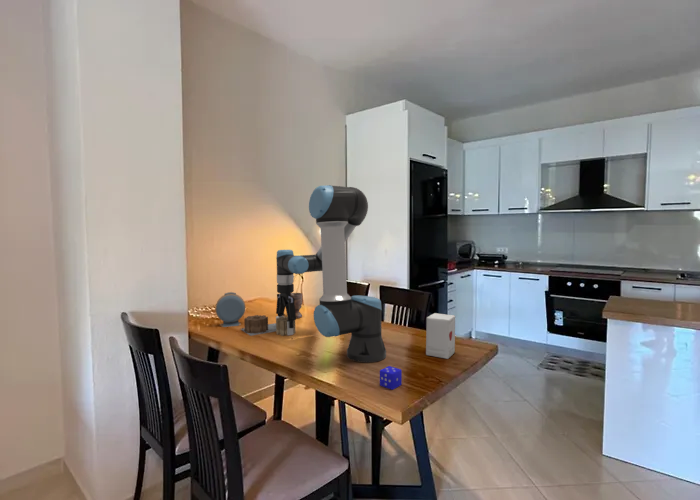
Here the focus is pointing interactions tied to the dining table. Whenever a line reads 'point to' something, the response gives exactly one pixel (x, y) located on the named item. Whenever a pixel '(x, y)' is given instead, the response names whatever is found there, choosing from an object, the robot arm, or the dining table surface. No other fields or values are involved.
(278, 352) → the dining table surface
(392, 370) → the die
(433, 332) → the supplement box
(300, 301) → the mortar and pestle
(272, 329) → the gear board
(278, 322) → the maple gear
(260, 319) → the walnut gear
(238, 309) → the alarm clock
